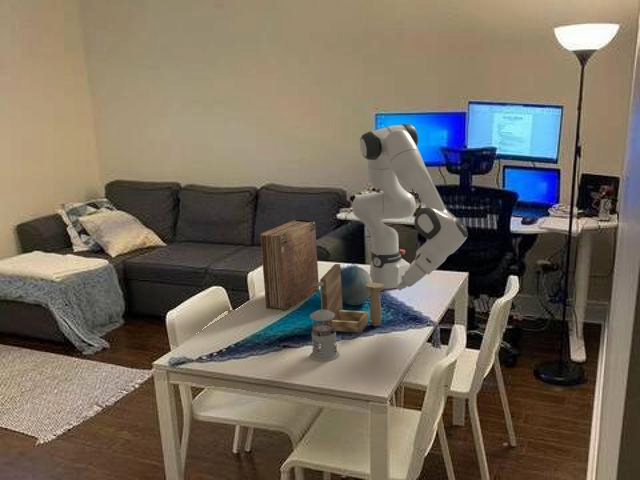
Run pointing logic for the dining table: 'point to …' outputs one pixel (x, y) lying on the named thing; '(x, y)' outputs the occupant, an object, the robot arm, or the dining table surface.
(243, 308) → the dining table surface
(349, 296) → the decorative ball
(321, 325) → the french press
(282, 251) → the book
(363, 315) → the cleat board
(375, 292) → the handle
